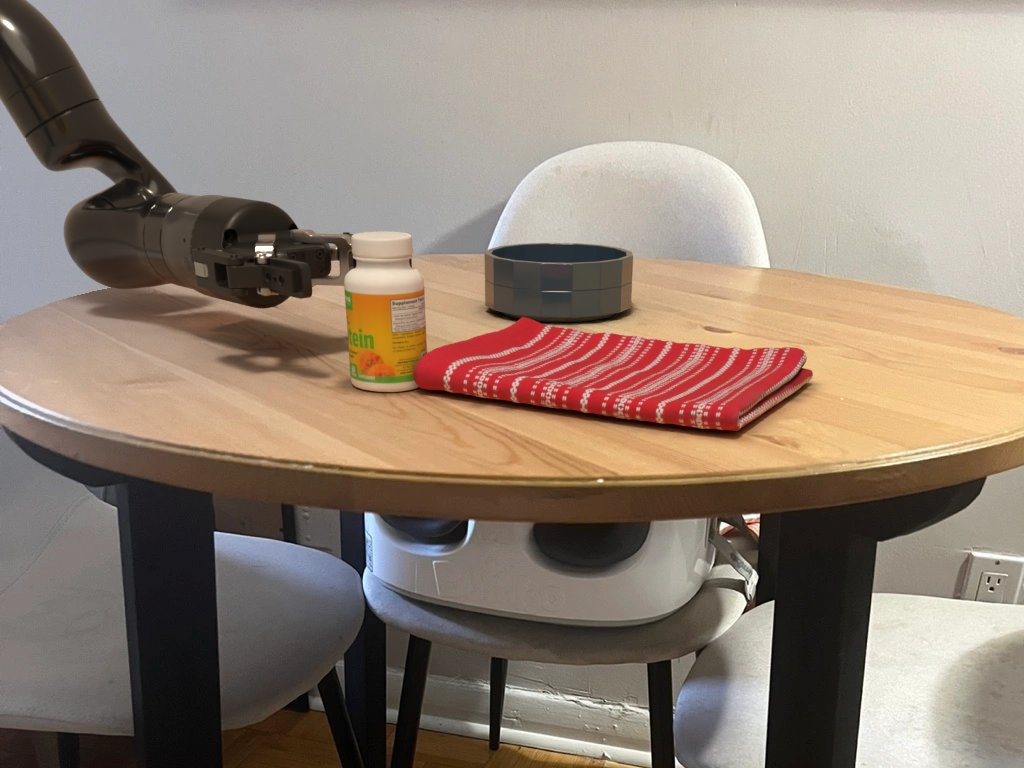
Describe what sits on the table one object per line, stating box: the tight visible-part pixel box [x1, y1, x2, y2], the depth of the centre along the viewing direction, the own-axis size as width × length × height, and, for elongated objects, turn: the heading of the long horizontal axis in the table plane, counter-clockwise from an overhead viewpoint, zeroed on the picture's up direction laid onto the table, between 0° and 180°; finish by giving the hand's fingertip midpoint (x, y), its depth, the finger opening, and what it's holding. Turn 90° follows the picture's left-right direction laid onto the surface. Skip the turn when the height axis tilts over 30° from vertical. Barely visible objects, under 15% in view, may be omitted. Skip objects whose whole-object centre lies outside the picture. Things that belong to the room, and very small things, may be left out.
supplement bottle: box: [343, 230, 428, 393], centre depth 79 cm, size 5×5×10 cm
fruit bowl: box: [484, 242, 634, 323], centre depth 104 cm, size 13×13×5 cm
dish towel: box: [413, 317, 814, 432], centre depth 80 cm, size 17×24×3 cm
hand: (359, 274), depth 79 cm, fingers open, 8 cm apart
